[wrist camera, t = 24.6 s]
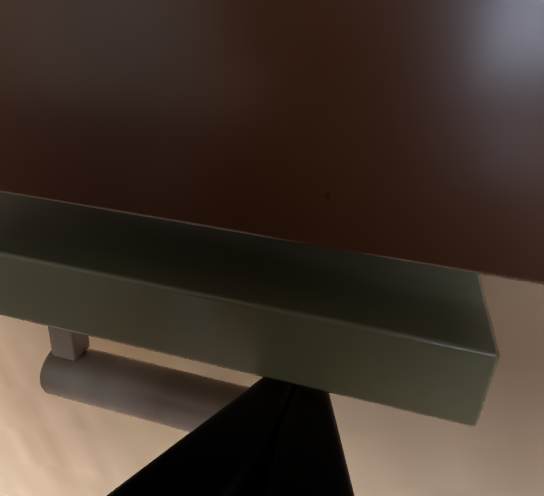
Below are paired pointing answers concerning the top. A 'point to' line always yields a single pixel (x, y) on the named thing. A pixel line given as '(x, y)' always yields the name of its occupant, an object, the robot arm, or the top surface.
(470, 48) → the cabinet
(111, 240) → the drawer
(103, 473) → the top surface
